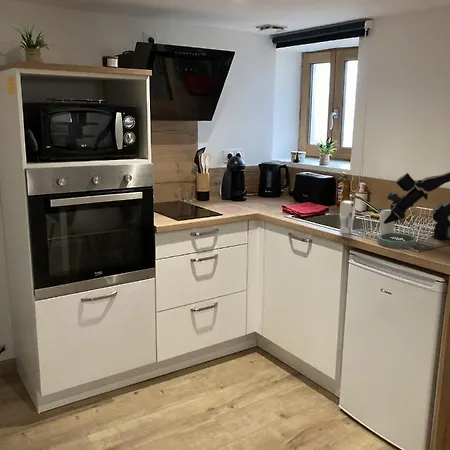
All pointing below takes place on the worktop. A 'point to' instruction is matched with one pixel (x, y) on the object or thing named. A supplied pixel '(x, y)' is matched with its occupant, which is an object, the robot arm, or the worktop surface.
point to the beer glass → (347, 216)
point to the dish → (389, 242)
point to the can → (389, 226)
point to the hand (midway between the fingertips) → (384, 220)
